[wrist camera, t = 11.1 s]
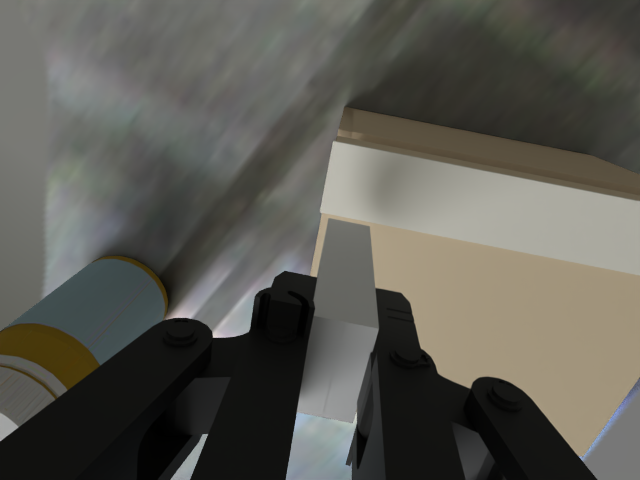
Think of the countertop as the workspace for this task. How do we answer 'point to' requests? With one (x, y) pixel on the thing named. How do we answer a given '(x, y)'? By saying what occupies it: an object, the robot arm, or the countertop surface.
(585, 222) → the flap
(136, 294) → the bottle
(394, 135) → the carton
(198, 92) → the countertop surface
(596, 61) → the countertop surface
